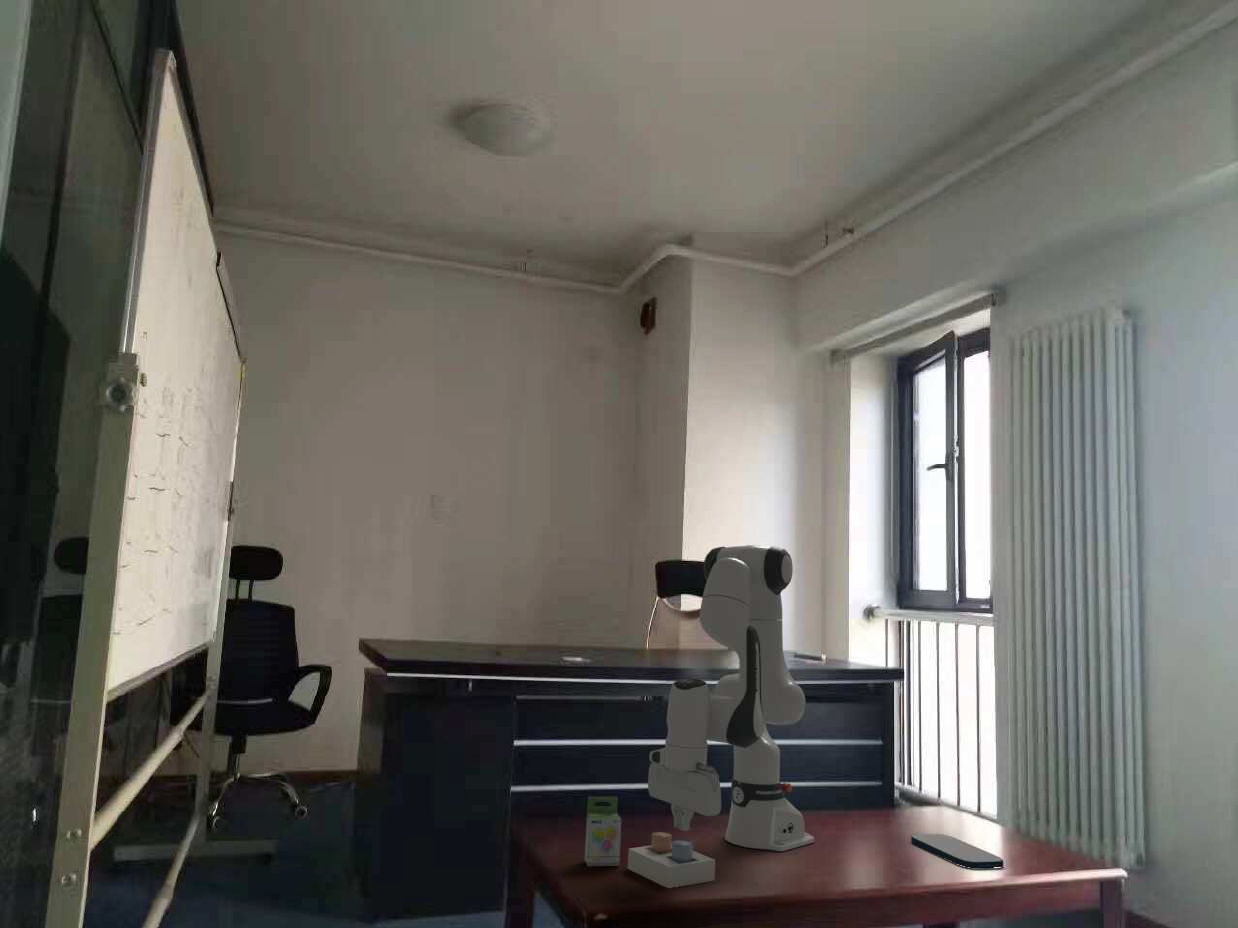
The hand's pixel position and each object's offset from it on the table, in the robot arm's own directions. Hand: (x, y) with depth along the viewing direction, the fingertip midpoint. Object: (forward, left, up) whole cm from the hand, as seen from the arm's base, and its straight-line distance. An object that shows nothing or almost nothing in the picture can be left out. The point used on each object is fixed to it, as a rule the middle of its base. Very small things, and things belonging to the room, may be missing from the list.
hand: (681, 828), depth 182 cm
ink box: (+9, -16, -10) cm, 21 cm away
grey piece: (-1, 0, -7) cm, 7 cm away
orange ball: (-1, -7, -7) cm, 10 cm away
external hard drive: (-75, +12, -11) cm, 76 cm away
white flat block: (-1, -4, -10) cm, 11 cm away
